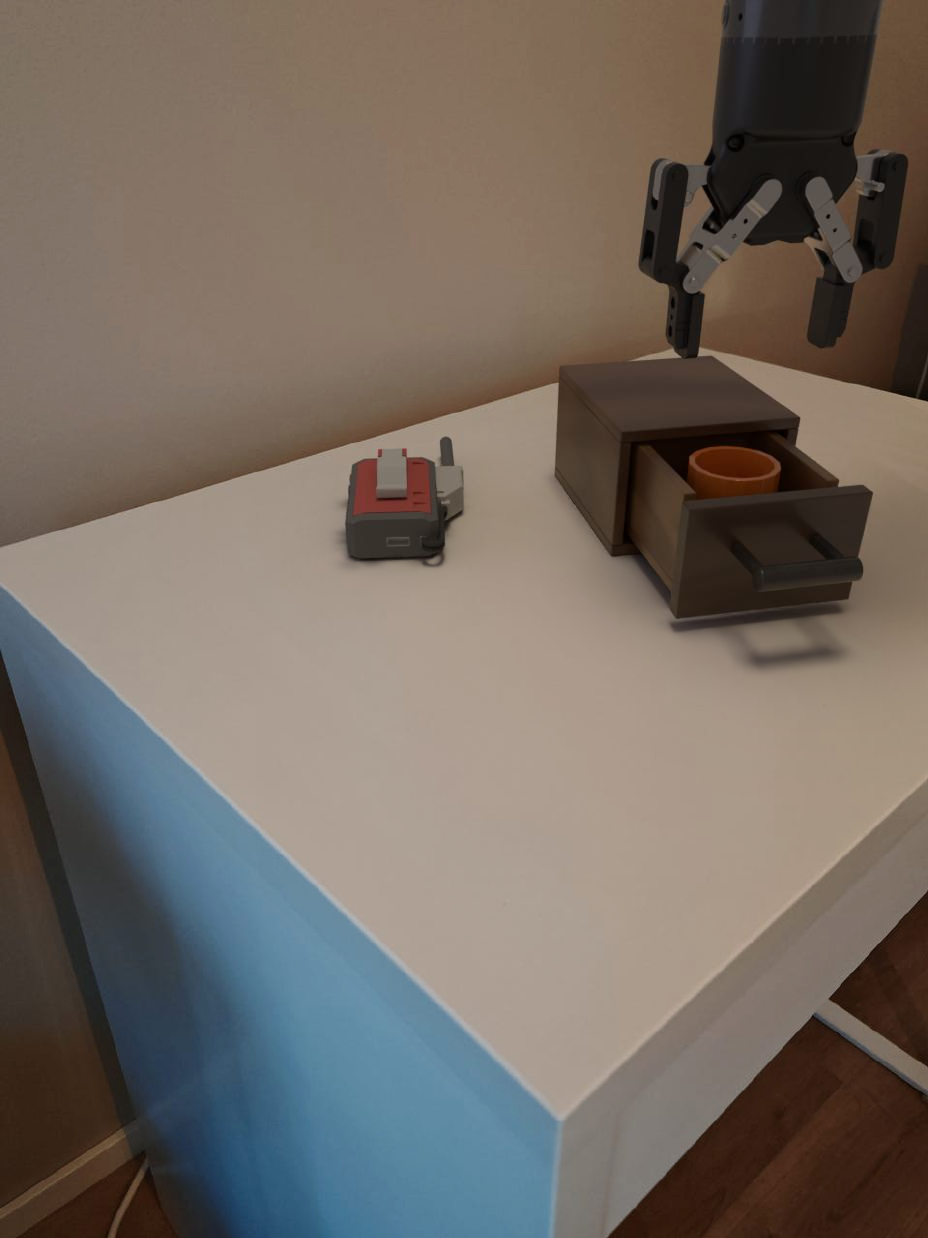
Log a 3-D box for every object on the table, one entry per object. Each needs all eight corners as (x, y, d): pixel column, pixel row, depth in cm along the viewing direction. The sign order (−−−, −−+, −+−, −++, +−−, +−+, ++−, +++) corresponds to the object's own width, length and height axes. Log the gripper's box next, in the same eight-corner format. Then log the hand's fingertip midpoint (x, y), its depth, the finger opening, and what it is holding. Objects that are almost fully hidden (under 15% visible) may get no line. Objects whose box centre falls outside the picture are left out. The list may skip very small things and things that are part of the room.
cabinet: (779, 539, 69) (801, 417, 64) (611, 556, 67) (621, 431, 62) (698, 462, 81) (712, 354, 77) (554, 474, 79) (559, 365, 75)
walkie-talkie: (472, 565, 66) (458, 454, 83) (471, 506, 64) (457, 405, 81) (343, 569, 66) (356, 457, 83) (338, 510, 64) (352, 407, 81)
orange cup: (743, 525, 67) (756, 442, 63) (781, 562, 62) (797, 475, 59) (666, 532, 66) (675, 449, 63) (698, 571, 61) (710, 483, 58)
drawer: (889, 638, 56) (919, 525, 52) (705, 660, 54) (723, 545, 51) (752, 509, 71) (768, 414, 68) (605, 523, 70) (612, 426, 66)
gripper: (693, 32, 44) (661, 379, 53) (974, 24, 46) (899, 359, 55) (637, 30, 50) (617, 341, 59) (887, 24, 53) (832, 325, 61)
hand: (753, 349), depth 57 cm, fingers open, 8 cm apart
